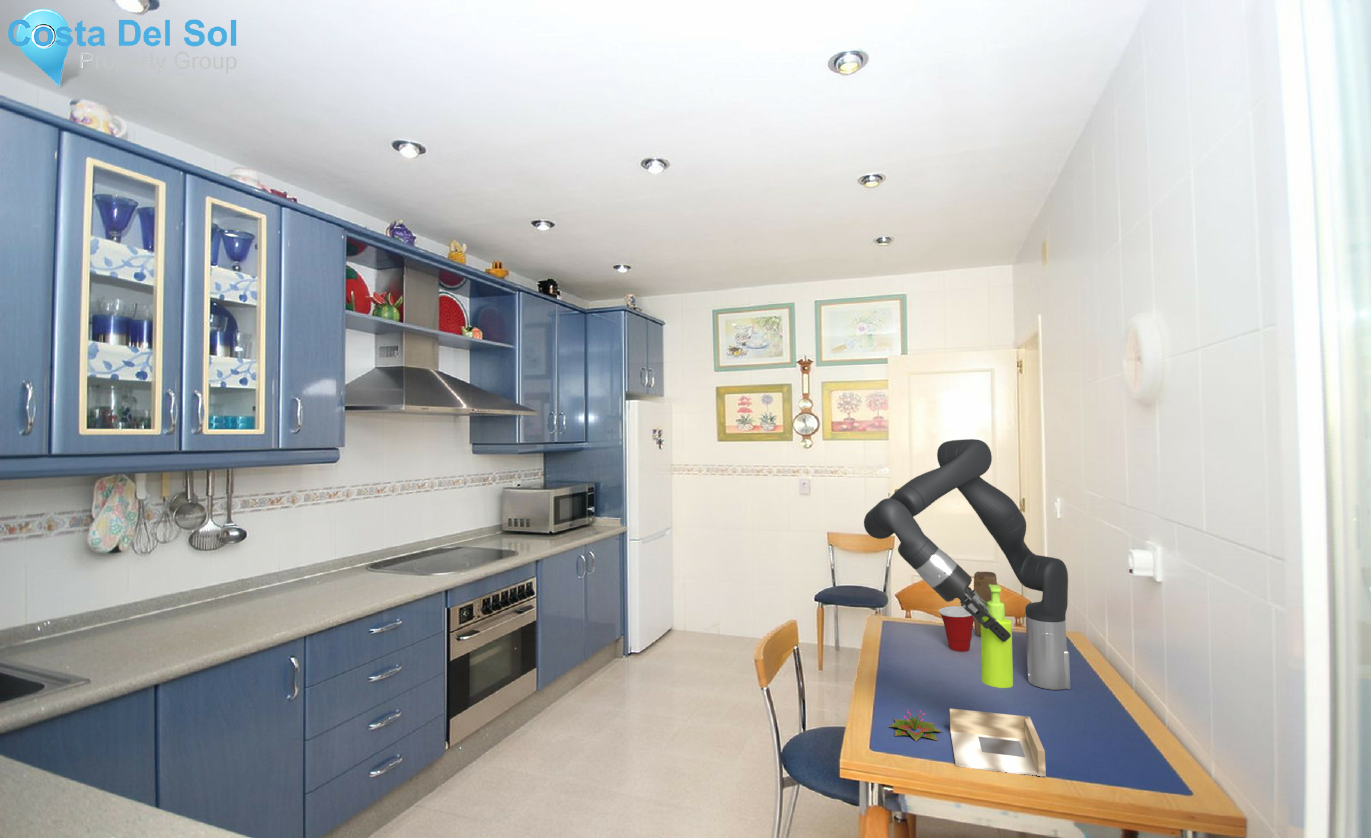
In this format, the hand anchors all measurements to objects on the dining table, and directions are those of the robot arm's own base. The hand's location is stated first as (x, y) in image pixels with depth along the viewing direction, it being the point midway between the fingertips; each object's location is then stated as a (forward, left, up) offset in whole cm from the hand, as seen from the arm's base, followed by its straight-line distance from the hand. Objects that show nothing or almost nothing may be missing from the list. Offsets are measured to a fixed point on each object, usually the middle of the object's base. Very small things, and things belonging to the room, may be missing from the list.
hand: (1005, 633), depth 136 cm
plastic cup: (+5, -66, -24) cm, 70 cm away
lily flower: (+19, -4, -25) cm, 31 cm away
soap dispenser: (+2, 0, -10) cm, 11 cm away
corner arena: (+3, +2, -24) cm, 24 cm away
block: (-5, -84, -24) cm, 87 cm away
